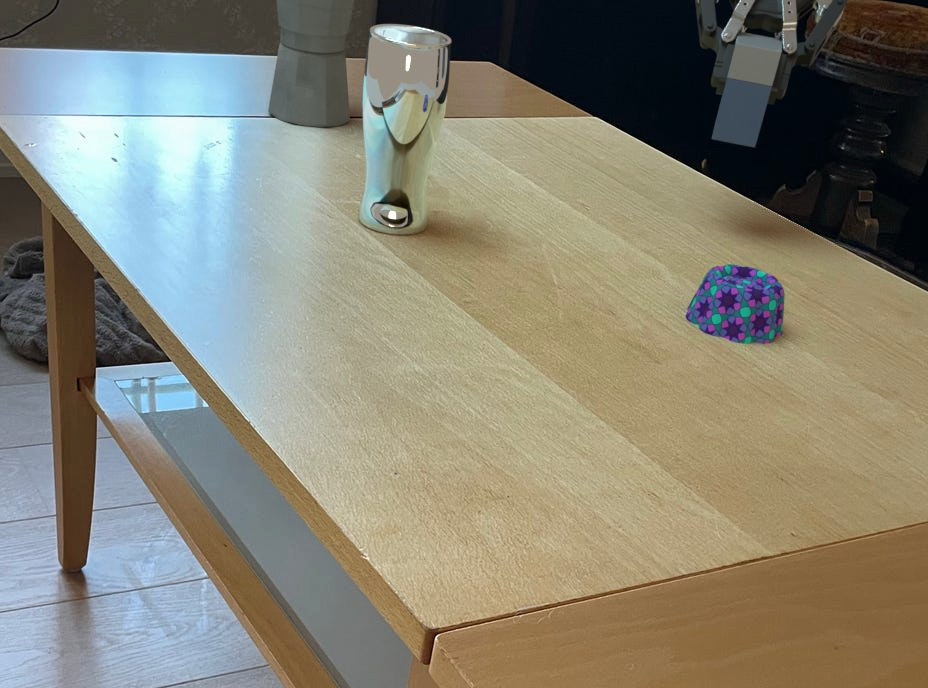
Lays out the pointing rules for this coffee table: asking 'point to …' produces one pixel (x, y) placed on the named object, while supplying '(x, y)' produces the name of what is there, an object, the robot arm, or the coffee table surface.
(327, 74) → the coffeepot
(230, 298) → the coffee table surface
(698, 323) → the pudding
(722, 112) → the block
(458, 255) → the coffee table surface
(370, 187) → the beer glass
